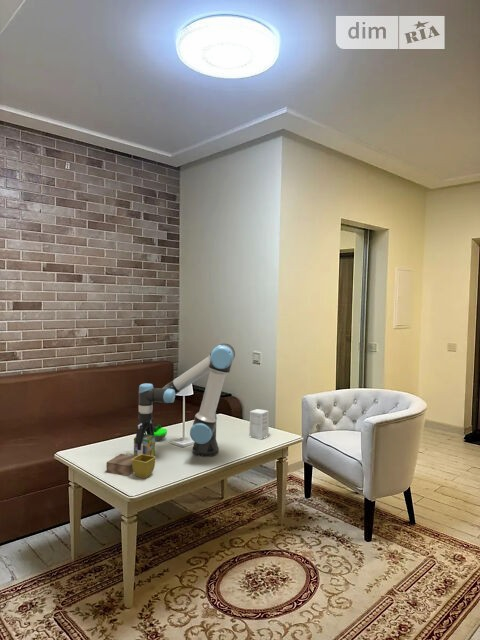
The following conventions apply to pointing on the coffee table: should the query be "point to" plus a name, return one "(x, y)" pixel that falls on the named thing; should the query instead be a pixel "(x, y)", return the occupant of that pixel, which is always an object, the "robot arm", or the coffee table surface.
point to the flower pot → (143, 465)
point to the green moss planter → (159, 432)
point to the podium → (121, 465)
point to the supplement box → (259, 423)
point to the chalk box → (146, 445)
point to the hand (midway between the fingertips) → (144, 452)
